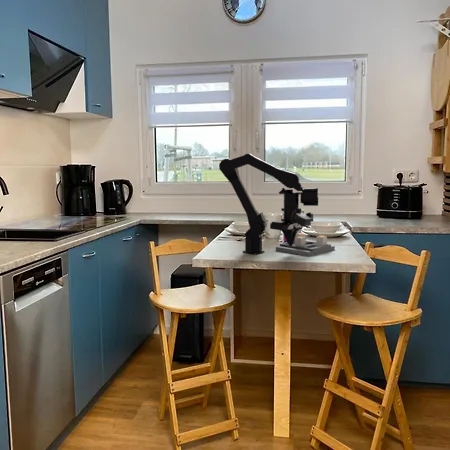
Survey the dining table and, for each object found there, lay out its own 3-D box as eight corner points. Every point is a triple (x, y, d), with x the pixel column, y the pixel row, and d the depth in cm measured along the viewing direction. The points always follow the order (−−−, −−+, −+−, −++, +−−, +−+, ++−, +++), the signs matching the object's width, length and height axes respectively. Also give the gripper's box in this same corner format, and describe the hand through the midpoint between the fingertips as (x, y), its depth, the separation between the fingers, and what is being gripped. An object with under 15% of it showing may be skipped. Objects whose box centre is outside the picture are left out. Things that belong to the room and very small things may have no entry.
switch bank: (308, 256, 173) (308, 249, 173) (275, 250, 185) (275, 244, 184) (334, 249, 186) (334, 243, 185) (302, 244, 197) (302, 239, 197)
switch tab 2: (301, 248, 180) (301, 238, 180) (294, 247, 182) (295, 237, 182) (305, 247, 182) (305, 237, 182) (299, 246, 185) (299, 236, 184)
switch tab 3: (322, 247, 182) (322, 237, 182) (316, 246, 184) (316, 236, 184) (326, 246, 184) (327, 236, 184) (320, 245, 186) (320, 235, 186)
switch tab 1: (301, 244, 189) (301, 234, 188) (295, 243, 191) (295, 233, 190) (305, 243, 191) (305, 233, 190) (299, 242, 193) (299, 233, 192)
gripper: (293, 209, 164) (292, 251, 166) (322, 205, 176) (321, 245, 179) (269, 206, 171) (269, 247, 174) (299, 203, 184) (298, 241, 187)
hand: (290, 245), depth 178 cm, fingers closed
